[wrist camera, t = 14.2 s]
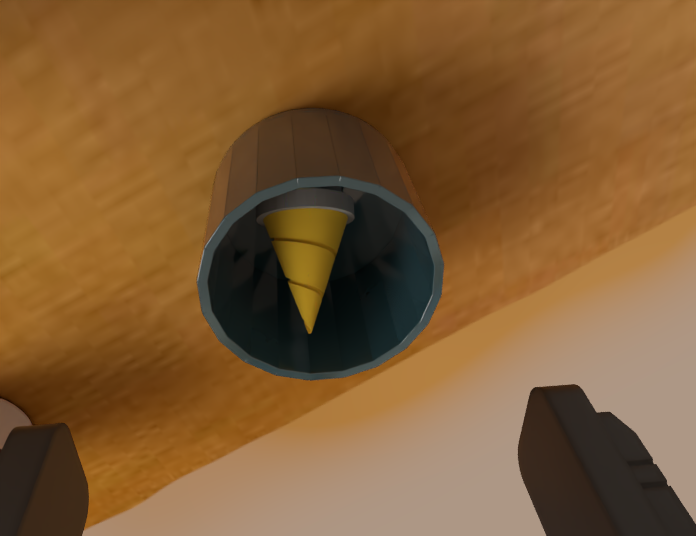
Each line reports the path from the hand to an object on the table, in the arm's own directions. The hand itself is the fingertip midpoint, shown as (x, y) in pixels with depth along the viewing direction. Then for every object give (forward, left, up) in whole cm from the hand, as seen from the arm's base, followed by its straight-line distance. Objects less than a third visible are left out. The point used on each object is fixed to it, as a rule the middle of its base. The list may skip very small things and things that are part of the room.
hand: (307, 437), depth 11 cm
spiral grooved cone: (+1, -8, -25) cm, 26 cm away
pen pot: (+1, -8, -26) cm, 27 cm away
